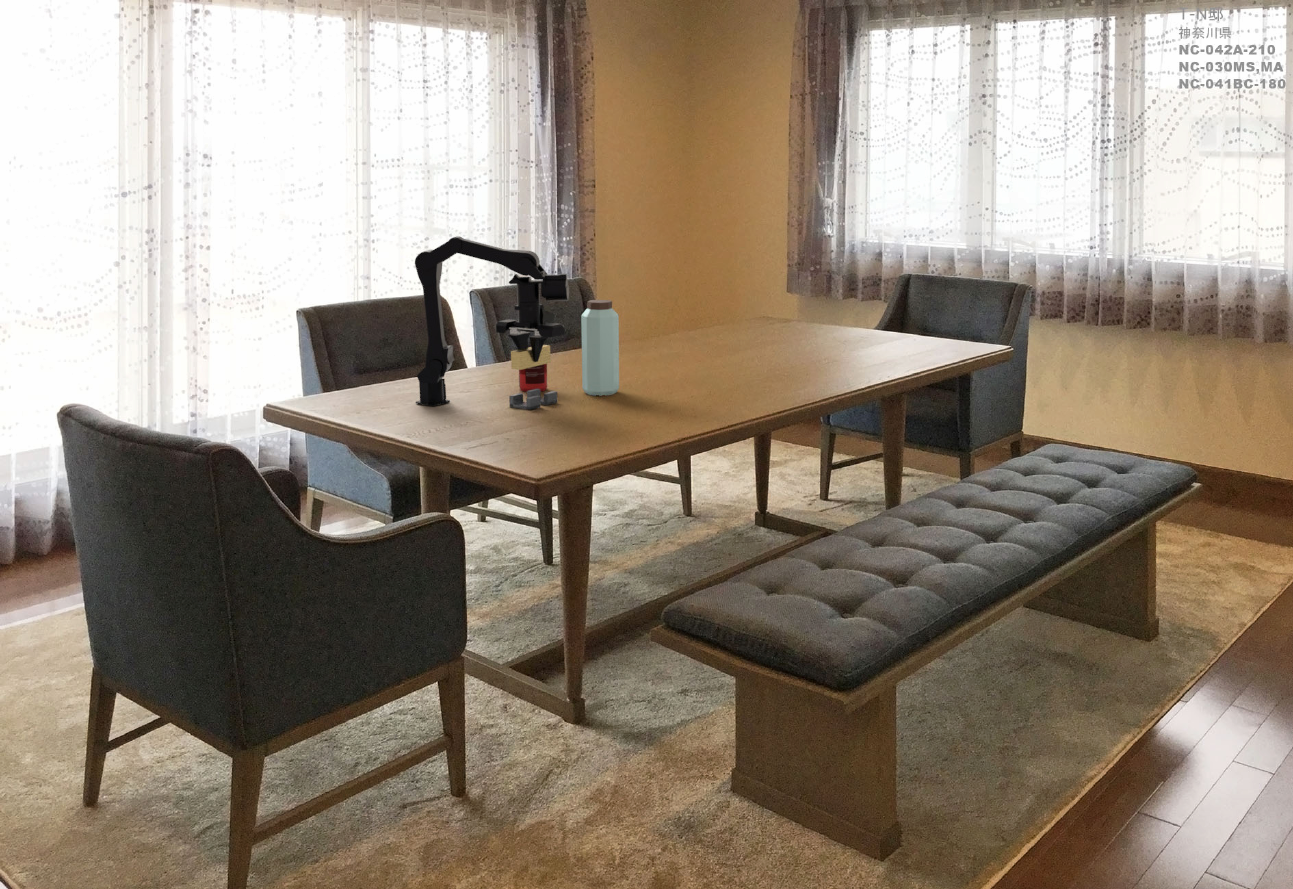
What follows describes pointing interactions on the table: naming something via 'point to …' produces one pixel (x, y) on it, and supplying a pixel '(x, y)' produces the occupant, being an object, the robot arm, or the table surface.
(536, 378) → the canned food
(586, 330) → the water bottle
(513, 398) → the bracket
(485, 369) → the table surface
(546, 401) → the far chain end
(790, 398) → the table surface
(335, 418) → the table surface
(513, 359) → the tan rectangular block
